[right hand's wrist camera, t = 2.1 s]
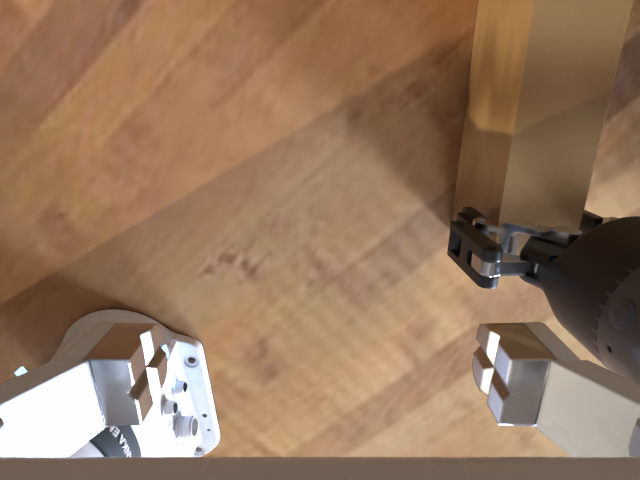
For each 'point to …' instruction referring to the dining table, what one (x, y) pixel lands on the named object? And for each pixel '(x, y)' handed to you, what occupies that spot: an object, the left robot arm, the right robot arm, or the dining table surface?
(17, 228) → the dining table surface
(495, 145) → the box
